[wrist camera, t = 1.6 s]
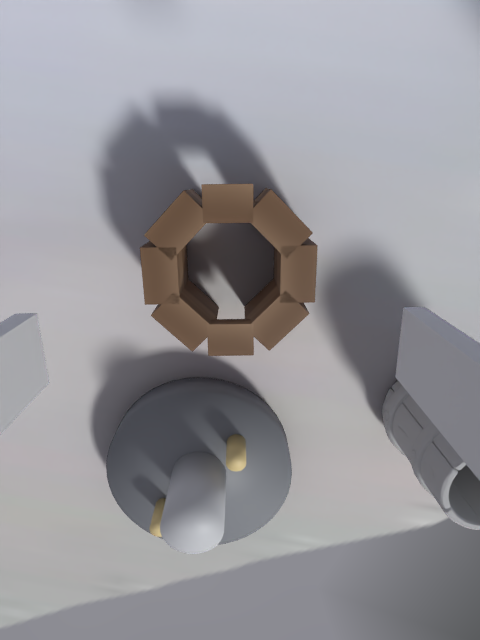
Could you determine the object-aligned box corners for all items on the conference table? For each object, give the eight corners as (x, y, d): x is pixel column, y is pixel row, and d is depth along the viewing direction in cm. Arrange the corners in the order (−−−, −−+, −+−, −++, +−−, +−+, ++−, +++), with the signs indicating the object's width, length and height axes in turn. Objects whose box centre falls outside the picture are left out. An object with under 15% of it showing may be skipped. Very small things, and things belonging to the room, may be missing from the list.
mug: (447, 347, 33) (560, 435, 21) (502, 452, 36) (625, 579, 24) (361, 393, 34) (424, 501, 22) (422, 491, 37) (503, 628, 26)
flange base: (196, 341, 32) (183, 390, 25) (323, 453, 36) (346, 527, 28) (80, 456, 36) (37, 530, 28) (206, 549, 39) (198, 637, 31)
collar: (151, 184, 29) (134, 185, 24) (306, 182, 29) (320, 183, 24) (162, 330, 32) (149, 356, 27) (301, 328, 32) (312, 354, 27)
